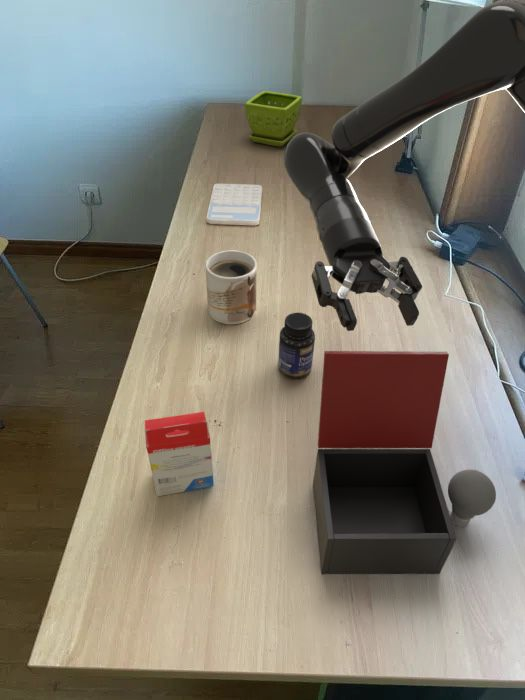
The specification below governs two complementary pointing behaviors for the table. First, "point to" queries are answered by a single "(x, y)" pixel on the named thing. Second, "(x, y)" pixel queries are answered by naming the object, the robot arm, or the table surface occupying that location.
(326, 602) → the table surface
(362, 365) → the lid
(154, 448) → the ink box
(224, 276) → the mug
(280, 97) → the flower pot
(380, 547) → the gray open box
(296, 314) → the pill bottle
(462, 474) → the light bulb
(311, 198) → the robot arm
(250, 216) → the calculator
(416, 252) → the table surface
